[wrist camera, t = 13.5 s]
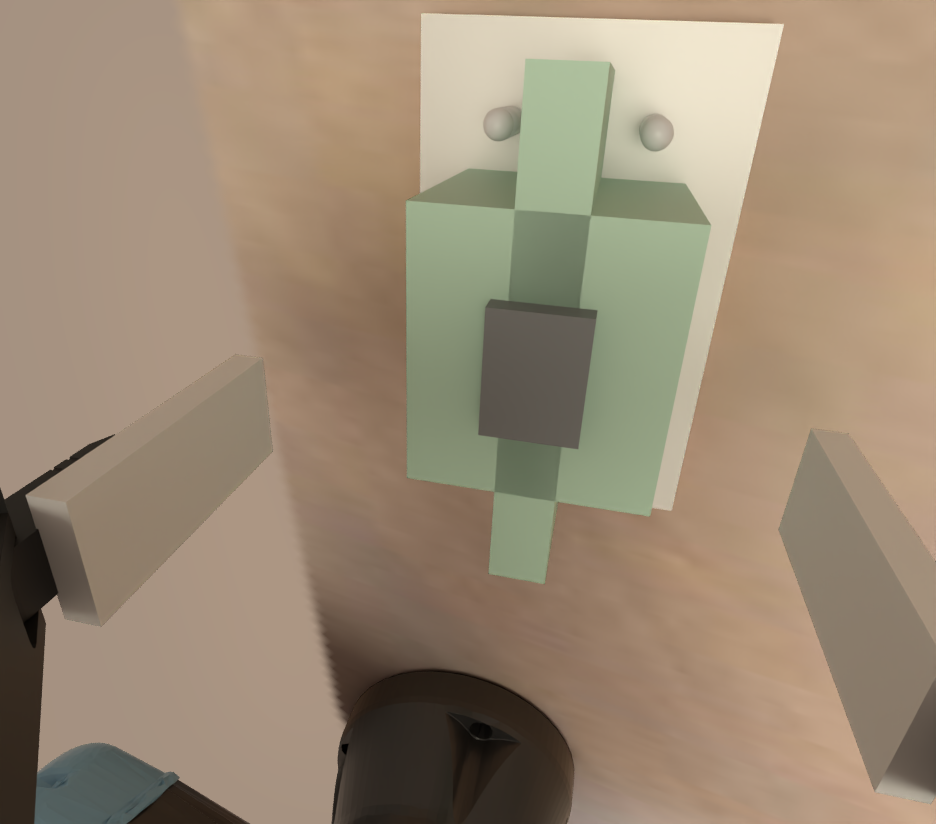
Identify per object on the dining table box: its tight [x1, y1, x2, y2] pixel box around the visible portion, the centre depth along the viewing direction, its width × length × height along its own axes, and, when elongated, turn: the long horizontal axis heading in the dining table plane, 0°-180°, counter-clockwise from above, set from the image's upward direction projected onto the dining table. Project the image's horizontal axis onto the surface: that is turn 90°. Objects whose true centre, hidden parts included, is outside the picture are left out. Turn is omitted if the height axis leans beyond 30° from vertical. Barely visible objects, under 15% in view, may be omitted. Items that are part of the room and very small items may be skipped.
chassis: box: [420, 13, 784, 511], centre depth 25 cm, size 19×12×5 cm, turn 177°
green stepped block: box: [406, 59, 711, 584], centre depth 22 cm, size 16×8×9 cm, turn 177°
